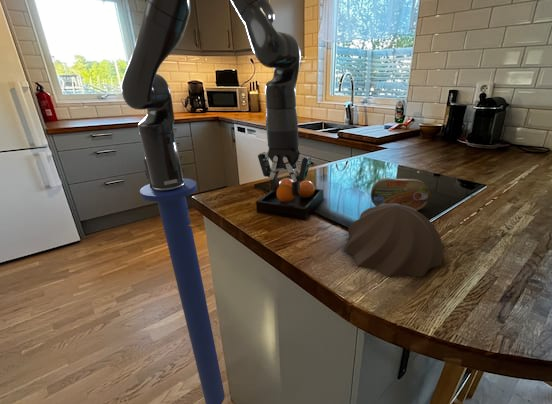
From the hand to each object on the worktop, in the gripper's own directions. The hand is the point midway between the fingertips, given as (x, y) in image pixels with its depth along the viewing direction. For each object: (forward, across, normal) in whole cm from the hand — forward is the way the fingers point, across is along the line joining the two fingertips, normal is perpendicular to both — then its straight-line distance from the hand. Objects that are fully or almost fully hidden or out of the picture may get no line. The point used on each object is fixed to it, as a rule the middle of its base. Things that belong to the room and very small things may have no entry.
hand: (285, 192), depth 78 cm
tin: (+5, -28, -11) cm, 31 cm away
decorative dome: (+5, -29, +10) cm, 31 cm away
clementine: (+2, +2, 0) cm, 2 cm away
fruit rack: (+5, 0, -4) cm, 6 cm away
